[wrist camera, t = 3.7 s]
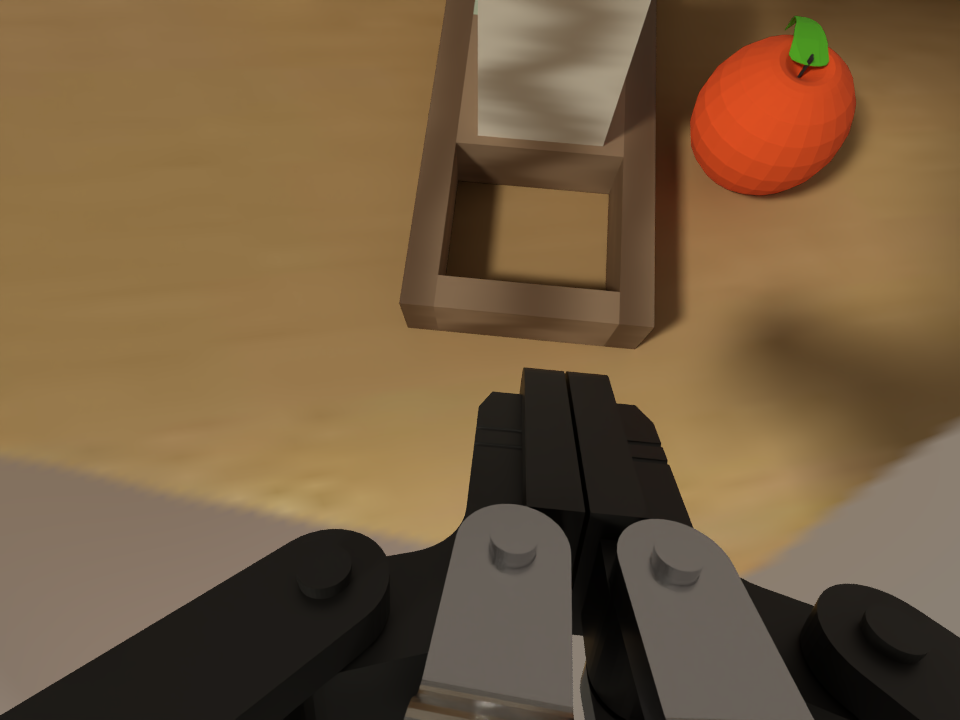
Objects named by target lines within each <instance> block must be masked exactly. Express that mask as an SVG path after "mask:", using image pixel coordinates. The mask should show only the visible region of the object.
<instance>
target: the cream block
mask: <svg viewBox="0 0 960 720" xmlns="http://www.w3.org/2000/svg"><path fill="white" fill-rule="evenodd" d="M650 2H651V0H478V136H489V137H501V138H512V139H524V140H536V141H547V142H559V143H570V144H582V145H593V146H603V144H604V141H605V138H606V135H607V132H608V129H609V126H610V123H611V120H612V117H613V114H614V111H615V108H616V105H617V102H618V99H619V96H620V93H621V90H622V87H623V84H624V81H625V78H626V75H627V72H628V69H629V66H630V63H631V60H632V57H633V54H634V51H635V48H636V45H637V42H638V39H639V36H640V33H641V30H642V27H643V24H644V21H645V18H646V14H647V11H648V8H649V5H650Z"/></svg>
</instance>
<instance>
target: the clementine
mask: <svg viewBox="0 0 960 720" xmlns="http://www.w3.org/2000/svg"><path fill="white" fill-rule="evenodd" d="M795 23H796V25H795V29H794V35H779V36H772V37H768V38H766V39H763V40H760V41H757V42H754V43H752V44H749V45H747V46H744V47H742V48H741V49H740V50H738V51H737V52H736V53H734V54H733V55H732V56H730V57H729V58H728V59H726V60H725V61H724V62H723V63H721V64H720V65H719V66H718V67H717V68H716V69H715V71H714V72H713V73H712V75H711V76H710V78H709V79H708V80H707V82H706V83H705V85H704V86H703V87H702V89H701V90H700V92H699V94H698V97H697V100H696V103H695V106H694V110H693V113H692V116H691V119H690V127H691V147H692V150H693V152H694V155H695V158H696V160H697V162H698V163H699V164H700V166H701V167H702V169H703V170H704V172H705V173H706V175H707V176H709V177H710V178H711V179H712V180H713V181H714V182H715V183H717V184H718V185H720V186H722V187H724V188H726V189H727V190H731V191H734V192H737V193H742V194H751V195H767V194H773V193H778V192H781V191H784V190H787V189H790V188H792V187H794V186H797V185H799V184H801V183H804V182H805V181H807V180H808V179H809V178H811V177H812V176H813V175H815V174H816V173H817V172H818V171H820V170H821V169H822V168H823V167H824V166H826V165H827V164H828V163H829V162H830V161H831V160H832V158H833V157H834V156H835V154H836V153H837V151H838V150H839V149H840V147H841V146H842V144H843V142H844V141H845V139H846V137H847V136H848V134H849V131H850V127H851V124H852V121H853V117H854V112H855V107H856V98H855V90H854V83H853V77H852V75H851V72H850V70H849V68H848V66H847V65H846V63H845V62H844V61H843V60H842V59H841V57H840V56H839V55H838V54H837V53H836V52H835V51H833V50H832V49H831V48H829V47H828V42H827V39H826V35H825V32H824V31H823V29H822V27H821V26H820V25H819V24H818V23H817V22H816V21H814V20H812V19H810V18H806V17H800V16H795V17H793V18H792V20H791V21H790V23H789V24H788V26H787V27H786V29H788V28H789V27H790V26H792V25H793V24H795ZM786 29H785V30H786Z"/></svg>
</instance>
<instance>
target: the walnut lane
mask: <svg viewBox="0 0 960 720" xmlns="http://www.w3.org/2000/svg"><path fill="white" fill-rule="evenodd" d="M655 141H656V0H651V2H650V5H649V8H648V11H647V14H646V18H645V21H644V24H643V27H642V30H641V33H640V36H639V39H638V42H637V45H636V48H635V51H634V54H633V57H632V60H631V63H630V66H629V69H628V72H627V75H626V78H625V81H624V84H623V87H622V90H621V93H620V96H619V99H618V102H617V105H616V108H615V111H614V114H613V117H612V120H611V123H610V126H609V129H608V132H607V135H606V138H605V141H604V144H603V146H593V145H582V144H570V143H559V142H547V141H536V140H524V139H512V138H501V137H489V136H478V0H446V7H445V13H444V20H443V26H442V33H441V39H440V45H439V52H438V58H437V65H436V71H435V77H434V84H433V90H432V97H431V103H430V110H429V116H428V122H427V129H426V135H425V142H424V148H423V155H422V161H421V167H420V174H419V180H418V187H417V193H416V199H415V206H414V212H413V219H412V225H411V232H410V238H409V244H408V251H407V257H406V264H405V270H404V277H403V283H402V289H401V296H400V302H399V304H400V307H401V309H402V312H403V315H404V318H405V321H406V323H407V326H408V328H419V329H429V330H440V331H450V332H460V333H471V334H481V335H492V336H502V337H513V338H523V339H533V340H544V341H554V342H565V343H575V344H585V345H596V346H606V347H617V348H627V349H635V348H636V347H637V346H638V345H639V344H640V343H641V342H642V341H643V339H644V338H645V337H646V336H647V335H648V334H649V333H650V332H651V331H652V329H653V328H654V293H655ZM458 181H468V182H479V183H490V184H501V185H513V186H524V187H535V188H546V189H558V190H569V191H580V192H591V193H603V194H609V206H608V234H607V263H606V291H603V290H592V289H582V288H571V287H560V286H550V285H539V284H528V283H518V282H507V281H496V280H485V279H475V278H464V277H453V276H446V270H447V262H448V254H449V247H450V239H451V232H452V224H453V216H454V209H455V201H456V193H457V186H458Z"/></svg>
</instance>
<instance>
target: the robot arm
mask: <svg viewBox="0 0 960 720" xmlns="http://www.w3.org/2000/svg"><path fill="white" fill-rule="evenodd" d="M667 461H668V460H667V458H666V455H665V452H664V450H663V447H661V442H660V439H659V437H658V434H657V431H656V429H655V426H654V423H653V422H652V421H651V420H650V419H649V418H648V417H646V416H645V415H644V414H643V413H642V412H641V411H640V410H639V409H638V408H637V407H636V406H635V405H627V404H617V403H616V401H615V398H614V394H613V391H612V387H611V384H610V380H609V377H608V376H607V375H599V374H588V373H578V372H566V373H564V371H556V370H545V369H535V368H523V372H522V379H521V387H520V394H512V393H501V392H492V393H491V394H490V395H489V396H488V397H487V398H486V399H485V400H484V402H483V403H482V404H481V405H480V406H479V410H478V418H477V427H476V434H475V443H474V451H473V459H472V467H471V476H470V484H469V492H468V500H467V508H466V513H465V516H464V519H463V521H462V523H461V524H460V526H459V527H458V528H457V530H456V531H455V532H454V533H453V534H452V535H451V536H449V537H448V538H446V539H445V540H444V541H442V542H440V543H438V544H436V545H434V546H432V547H429V548H426V549H423V550H419V551H415V552H409V553H403V554H398V555H392V556H386V555H385V553H384V552H383V550H382V549H381V548H380V546H379V545H378V544H377V543H376V542H374V541H373V540H372V539H370V538H369V537H367V536H365V535H363V534H361V533H357V532H354V531H350V530H343V529H328V530H320V531H316V532H312V533H309V534H306V535H303V536H301V537H299V538H297V539H295V540H293V541H291V542H289V543H288V544H286V545H284V546H282V547H281V548H279V549H277V550H276V551H274V552H273V553H271V554H269V555H267V556H266V557H264V558H262V559H261V560H259V561H257V562H256V563H254V564H252V565H251V566H249V567H247V568H246V569H244V570H242V571H241V572H239V573H237V574H236V575H234V576H232V577H231V578H229V579H227V580H226V581H224V582H222V583H221V584H219V585H217V586H216V587H214V588H212V589H211V590H209V591H207V592H206V593H204V594H202V595H201V596H199V597H197V598H196V599H194V600H192V601H191V602H189V603H187V604H186V605H184V606H182V607H181V608H179V609H177V610H176V611H174V612H172V613H171V614H169V615H167V616H166V617H164V618H162V619H161V620H159V621H157V622H156V623H154V624H152V625H150V626H149V627H147V628H145V629H144V630H142V631H140V632H139V633H137V634H136V635H134V636H132V637H130V638H129V639H127V640H126V641H124V642H122V643H121V644H119V645H117V646H116V647H114V648H112V649H110V650H109V651H107V652H106V653H104V654H102V655H100V656H99V657H97V658H96V659H94V660H92V661H90V662H89V663H87V664H85V665H84V666H82V667H80V668H79V669H77V670H75V671H74V672H72V673H70V674H69V675H67V676H65V677H64V678H62V679H60V680H59V681H57V682H55V683H54V684H52V685H50V686H49V687H47V688H45V689H44V690H42V691H40V692H39V693H37V694H35V695H34V696H32V697H30V698H29V699H27V700H25V701H24V702H22V703H20V704H19V705H17V706H15V707H14V708H12V709H10V710H9V711H7V712H5V713H4V714H2V715H0V720H574V715H573V684H572V683H573V680H572V679H573V677H572V635H581V636H583V637H584V646H585V655H586V661H585V666H584V669H583V673H582V677H581V681H580V693H581V700H582V706H583V712H584V718H585V720H960V638H959V637H958V636H956V635H955V634H953V633H952V632H950V631H949V630H947V629H946V628H944V627H943V626H941V625H940V624H938V623H937V622H935V621H934V620H932V619H931V618H929V617H928V616H926V615H925V614H923V613H922V612H920V611H919V610H917V609H916V608H914V607H912V606H910V605H909V604H908V603H906V602H904V601H902V600H900V599H898V598H896V597H894V596H893V595H890V594H888V593H885V592H883V591H880V590H878V589H874V588H871V587H868V586H863V585H857V584H839V585H835V586H832V587H829V588H828V589H826V590H825V591H823V593H822V594H821V595H820V597H819V598H818V600H817V602H816V604H815V606H812V605H810V604H807V603H804V602H801V601H798V600H796V599H793V598H790V597H787V596H784V595H782V594H779V593H776V592H773V591H770V590H768V589H765V588H762V587H760V586H757V585H754V584H752V583H750V582H748V581H746V580H744V579H742V578H740V577H739V575H738V573H737V571H736V569H735V567H734V565H733V564H732V562H731V560H730V559H729V557H728V556H727V555H726V553H725V552H724V551H723V550H722V549H721V548H720V547H719V546H718V545H717V544H716V543H715V542H714V541H713V540H711V539H710V538H709V537H707V536H706V535H704V534H703V533H701V532H699V531H698V530H696V529H694V528H693V526H692V523H691V521H690V518H689V515H688V513H687V510H686V508H685V505H684V502H683V500H682V497H681V494H680V492H679V489H678V487H677V484H676V481H675V479H674V476H673V473H672V471H671V468H670V466H669V465H667Z"/></svg>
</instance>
